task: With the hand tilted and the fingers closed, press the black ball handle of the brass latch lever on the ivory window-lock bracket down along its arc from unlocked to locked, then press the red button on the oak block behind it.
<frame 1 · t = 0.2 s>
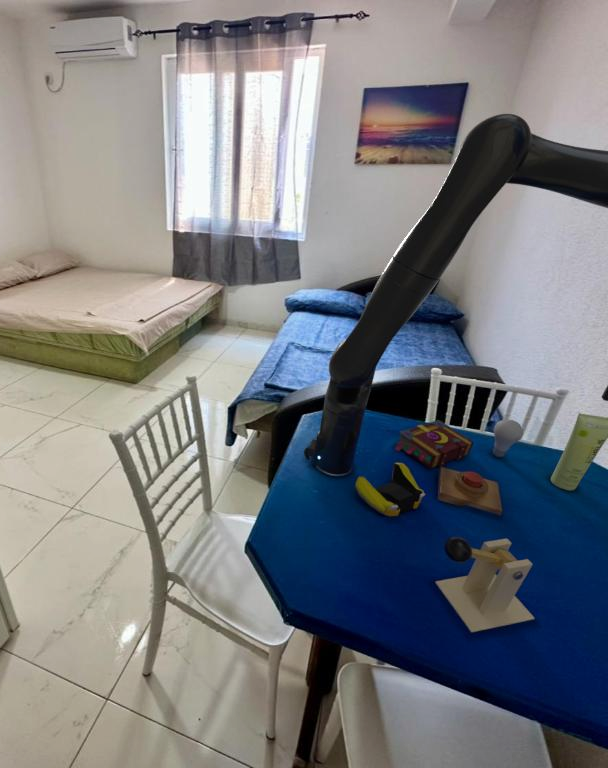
latch: (480, 555, 62), point 13 cm above the table, hinge at 25.0°
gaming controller: (388, 500, 91), on the table
button block: (466, 494, 93), on the table
lock bracket: (480, 603, 70), on the table
button: (472, 479, 91), point 4 cm above the table, slide at 0.1 cm
decorative book: (430, 451, 107), on the table
lightbulb: (496, 456, 106), on the table
tube: (561, 484, 98), on the table
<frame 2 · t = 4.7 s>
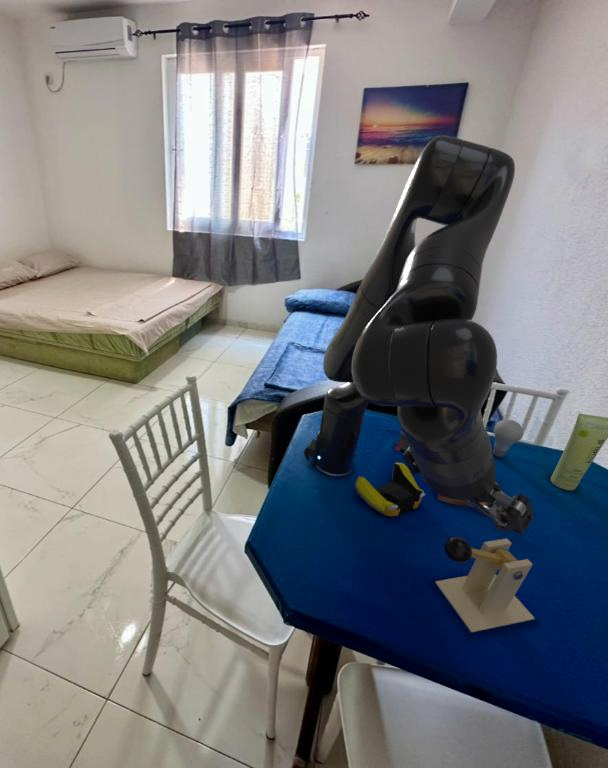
hand: (470, 505, 55), 26 cm above the table, tool tilted 40°, fingers open, 8 cm apart
nothing on the table moved.
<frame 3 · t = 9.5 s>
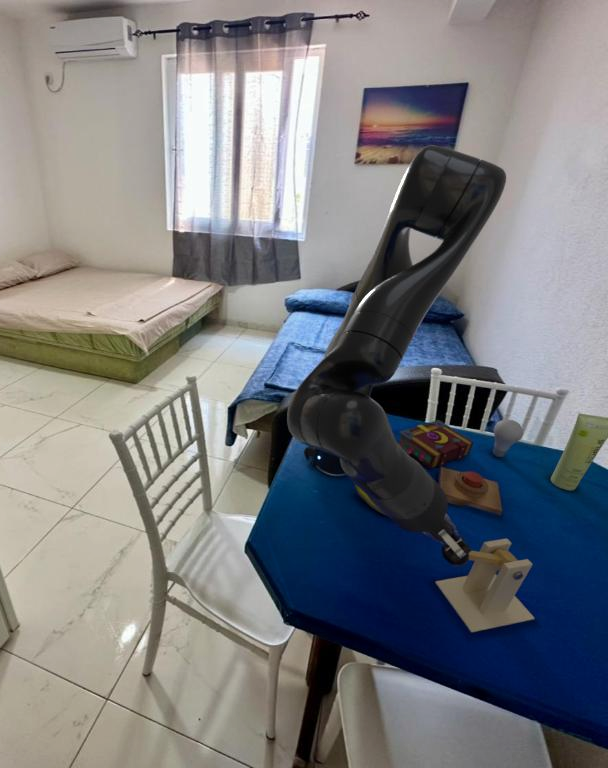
hand: (456, 544, 60), 17 cm above the table, tool tilted 45°, fingers closed
latch: (479, 556, 63), point 13 cm above the table, hinge at 21.3°, touching gripper
everything else where it was.
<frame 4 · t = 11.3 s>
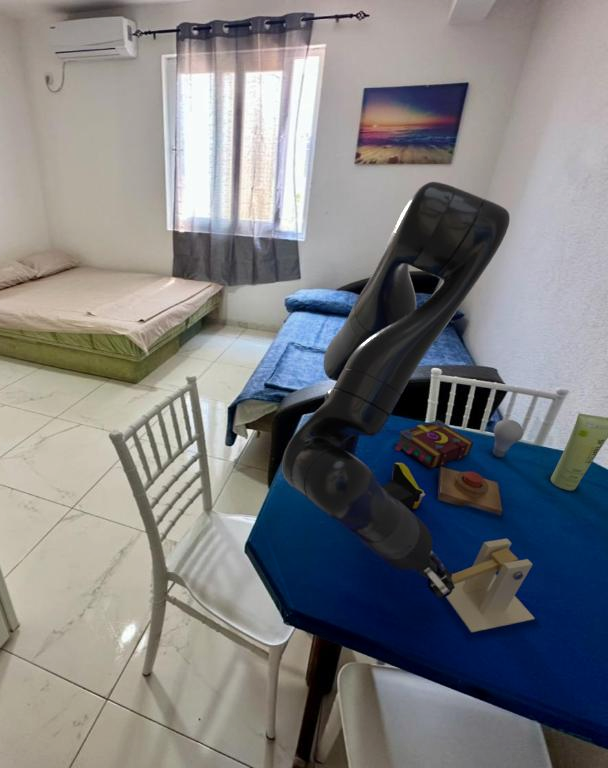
hand: (443, 575, 63), 10 cm above the table, tool tilted 45°, fingers closed
latch: (470, 572, 64), point 9 cm above the table, hinge at -17.2°, touching gripper
everything else where it was.
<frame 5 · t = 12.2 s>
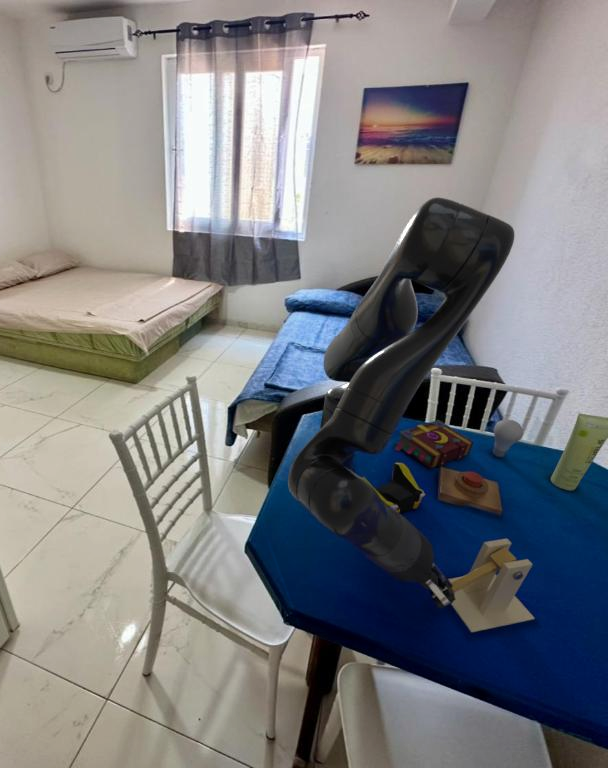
hand: (444, 585, 64), 7 cm above the table, tool tilted 45°, fingers closed
latch: (471, 577, 65), point 8 cm above the table, hinge at -32.3°, touching gripper
everything else where it was.
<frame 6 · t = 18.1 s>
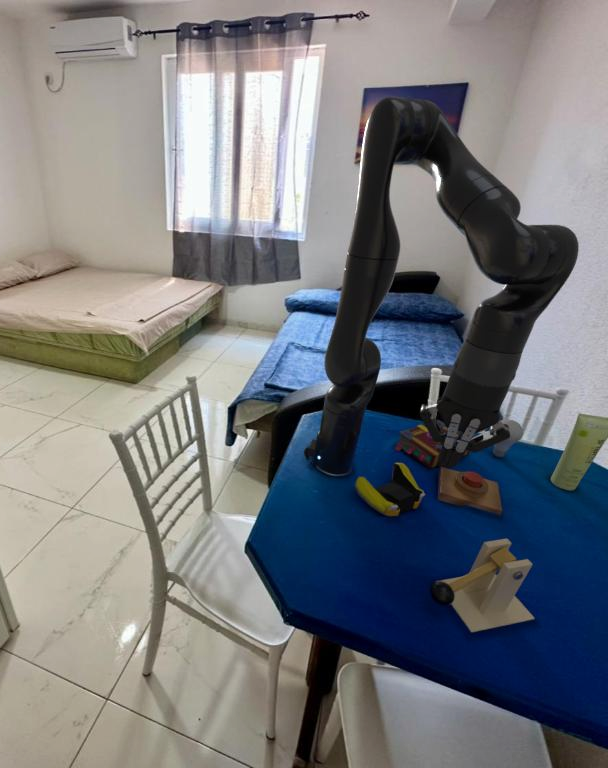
hand: (445, 464, 67), 23 cm above the table, tool pointing down, fingers closed
latch: (471, 577, 65), point 8 cm above the table, hinge at -32.3°
everything else where it was.
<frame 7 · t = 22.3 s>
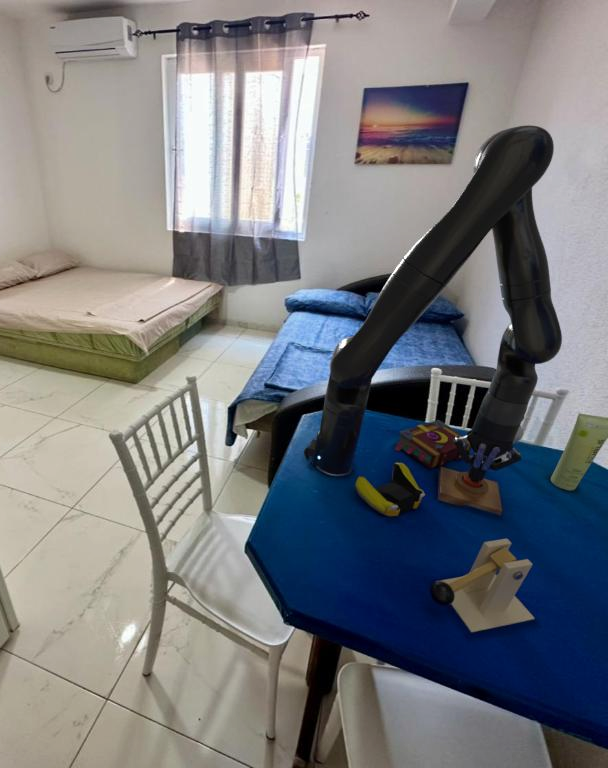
hand: (473, 479, 91), 5 cm above the table, tool pointing down, fingers closed
button: (471, 482, 91), point 4 cm above the table, slide at -0.6 cm, touching gripper
everything else where it was.
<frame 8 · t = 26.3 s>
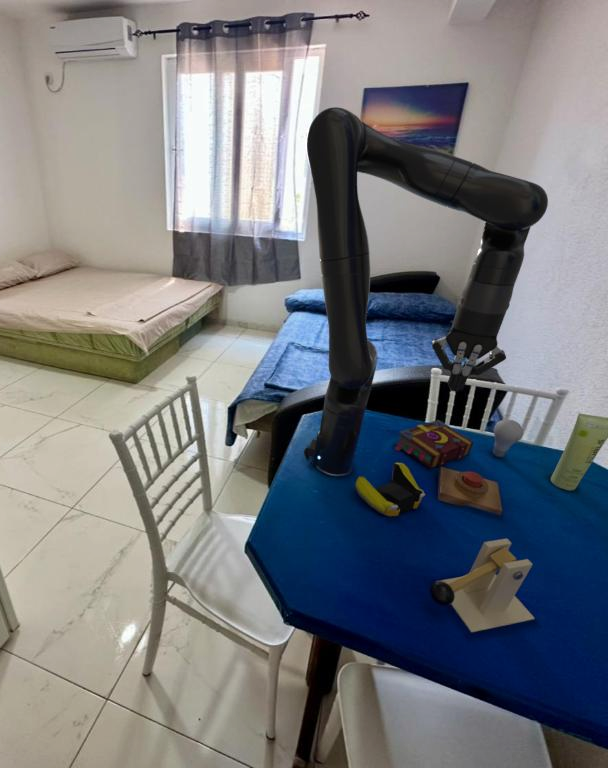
hand: (453, 389, 81), 27 cm above the table, tool pointing down, fingers closed
button: (472, 479, 91), point 4 cm above the table, slide at 0.1 cm
everything else where it was.
at the end: latch at -32° (first picture: +25°); button pushed in 1.1 cm at the most during the clip, back to where it started at the end; button slide at 0.1 cm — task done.
